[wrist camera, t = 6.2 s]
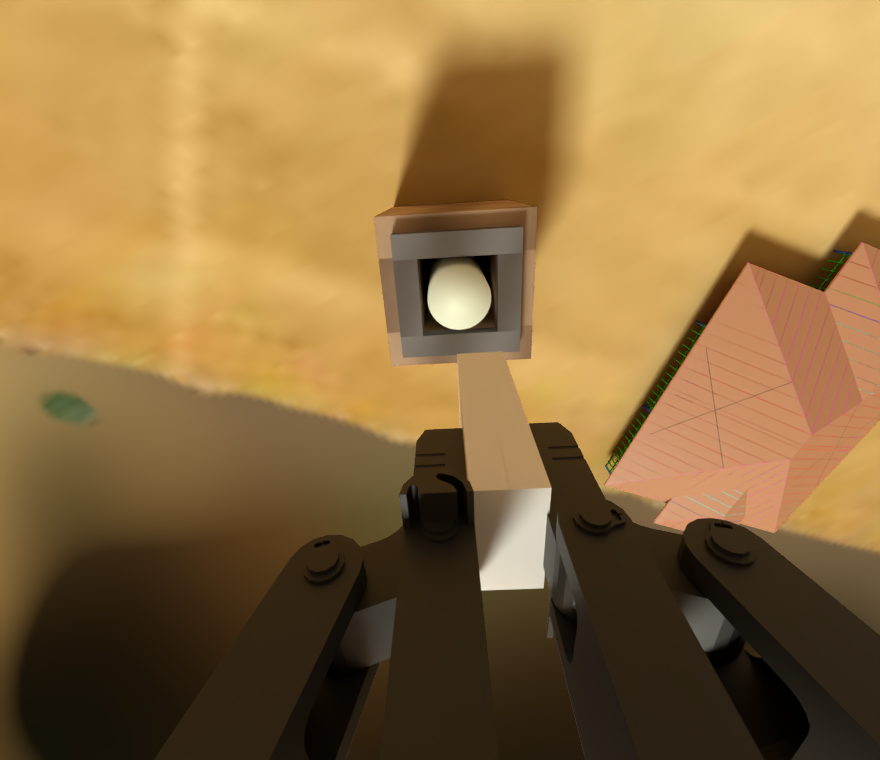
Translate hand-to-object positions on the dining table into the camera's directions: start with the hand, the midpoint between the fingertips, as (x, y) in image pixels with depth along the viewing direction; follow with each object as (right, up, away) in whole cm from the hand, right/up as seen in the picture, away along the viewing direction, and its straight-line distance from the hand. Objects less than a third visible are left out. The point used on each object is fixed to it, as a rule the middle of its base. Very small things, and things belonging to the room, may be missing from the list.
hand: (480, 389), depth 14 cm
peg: (0, +11, +23) cm, 25 cm away
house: (+32, -2, +31) cm, 45 cm away
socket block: (0, +11, +24) cm, 27 cm away
